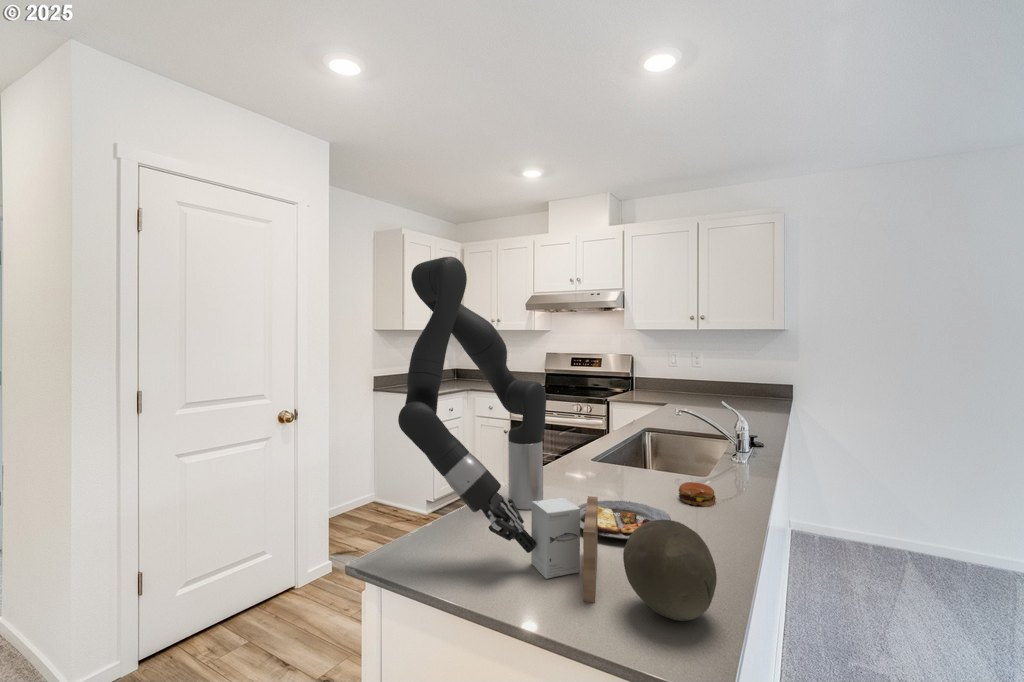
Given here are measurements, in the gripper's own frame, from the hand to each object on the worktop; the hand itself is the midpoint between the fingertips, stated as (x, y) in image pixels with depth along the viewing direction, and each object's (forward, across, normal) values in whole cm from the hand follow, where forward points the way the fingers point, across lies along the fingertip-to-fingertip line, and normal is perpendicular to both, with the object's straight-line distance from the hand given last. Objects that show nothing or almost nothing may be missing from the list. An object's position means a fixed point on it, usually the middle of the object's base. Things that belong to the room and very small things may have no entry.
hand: (532, 548), depth 96 cm
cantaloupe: (+20, -11, -14) cm, 27 cm away
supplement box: (+6, +2, 0) cm, 6 cm away
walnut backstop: (+11, 0, -5) cm, 12 cm away
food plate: (+15, +27, -9) cm, 32 cm away
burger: (+30, +49, -24) cm, 62 cm away
